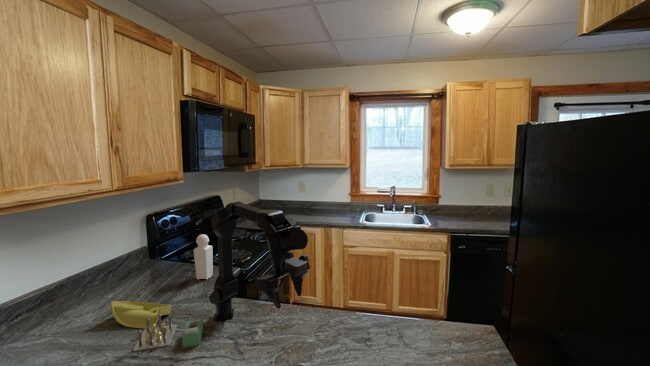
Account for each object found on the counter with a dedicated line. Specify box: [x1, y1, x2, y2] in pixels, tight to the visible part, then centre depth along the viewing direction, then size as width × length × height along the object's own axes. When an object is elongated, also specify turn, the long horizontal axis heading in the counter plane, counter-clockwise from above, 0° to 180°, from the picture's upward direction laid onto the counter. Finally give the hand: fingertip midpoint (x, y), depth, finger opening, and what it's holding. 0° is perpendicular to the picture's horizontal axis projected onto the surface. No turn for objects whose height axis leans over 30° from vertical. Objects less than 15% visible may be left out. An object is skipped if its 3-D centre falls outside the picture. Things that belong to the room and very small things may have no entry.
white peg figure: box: [193, 233, 214, 280], centre depth 145 cm, size 6×6×22 cm
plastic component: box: [109, 300, 172, 330], centre depth 109 cm, size 20×7×10 cm
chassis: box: [132, 314, 178, 352], centre depth 97 cm, size 11×10×5 cm
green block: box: [181, 319, 204, 349], centre depth 96 cm, size 8×5×5 cm, turn 16°
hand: (289, 302), depth 89 cm, fingers open, 9 cm apart
